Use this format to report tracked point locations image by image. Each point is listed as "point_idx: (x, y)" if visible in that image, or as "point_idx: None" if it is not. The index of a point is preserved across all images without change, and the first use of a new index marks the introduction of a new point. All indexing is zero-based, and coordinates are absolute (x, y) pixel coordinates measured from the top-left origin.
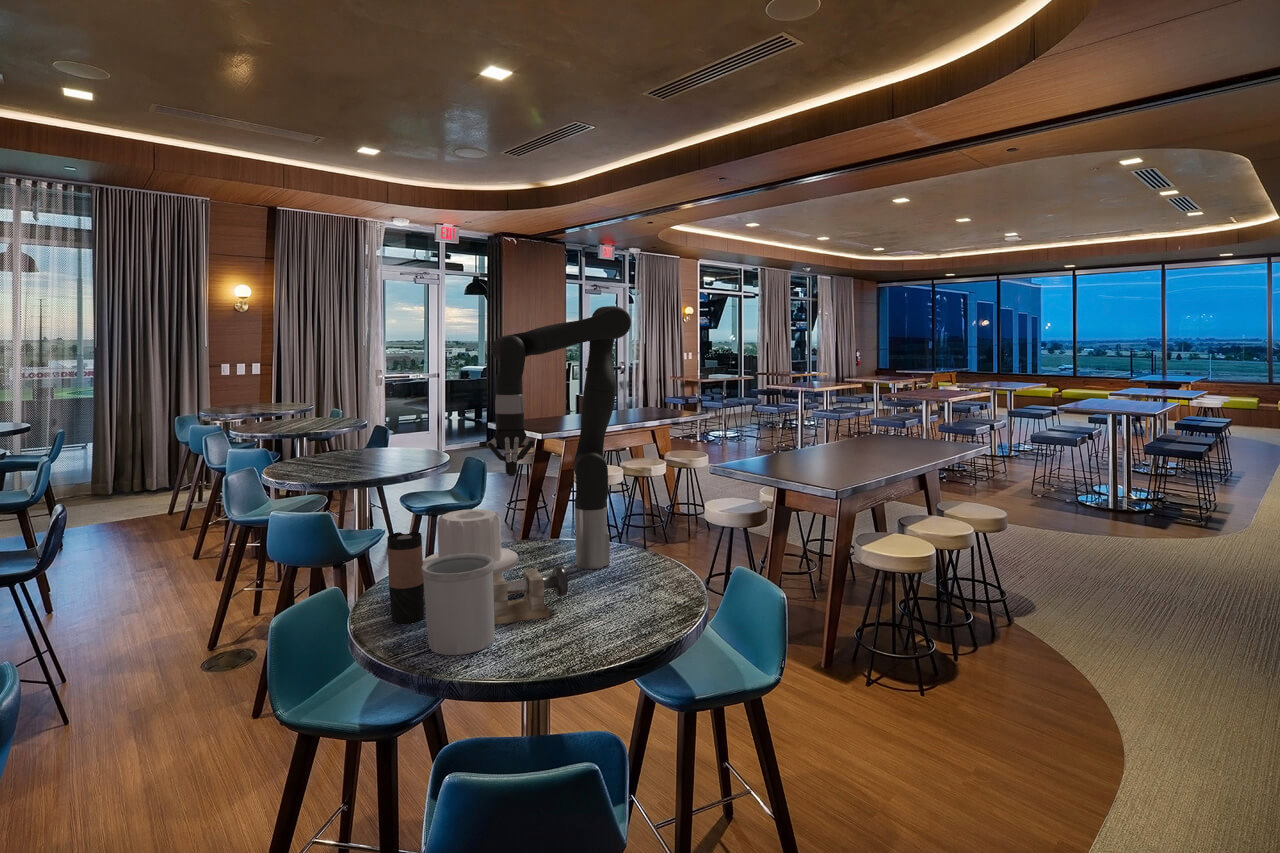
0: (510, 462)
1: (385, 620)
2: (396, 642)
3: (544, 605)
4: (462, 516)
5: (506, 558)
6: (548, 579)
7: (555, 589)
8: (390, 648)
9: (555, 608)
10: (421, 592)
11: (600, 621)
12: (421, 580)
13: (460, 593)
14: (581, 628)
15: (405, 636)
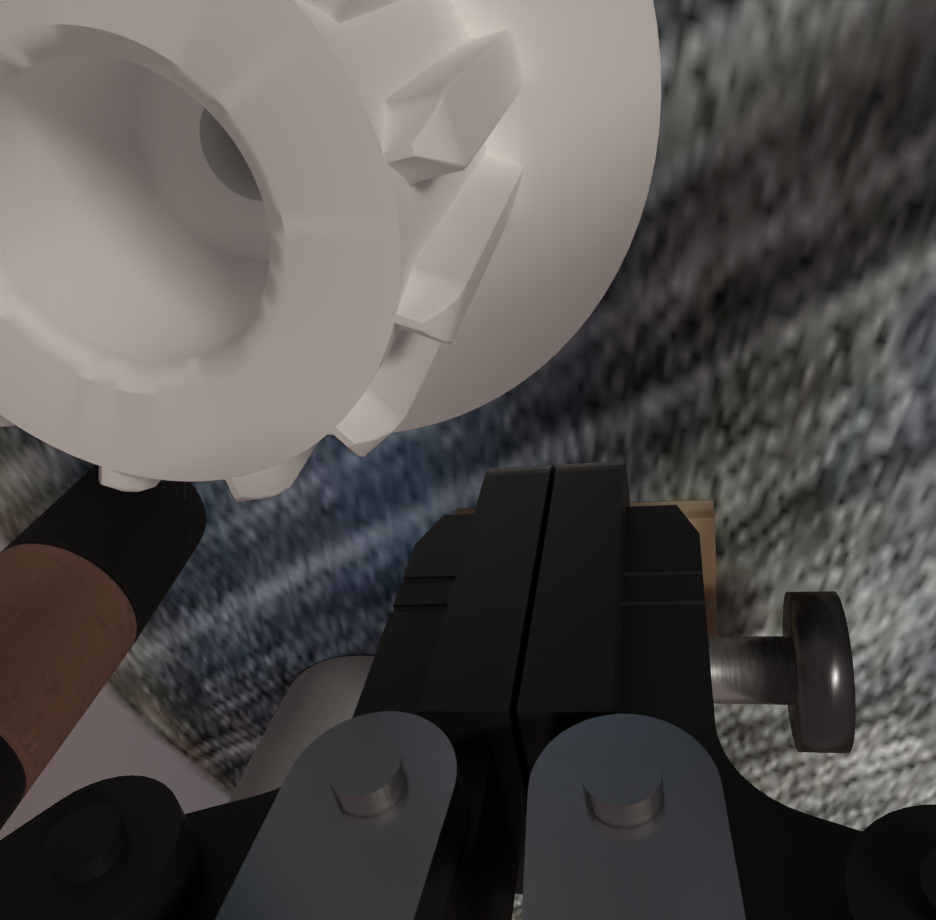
0: (509, 869)
1: (64, 490)
2: (177, 669)
3: (711, 617)
4: (22, 73)
5: (561, 174)
6: (746, 703)
7: (786, 624)
8: (174, 699)
9: (768, 580)
10: (153, 611)
11: (909, 743)
12: (127, 650)
13: None
14: (809, 768)
15: (190, 639)
